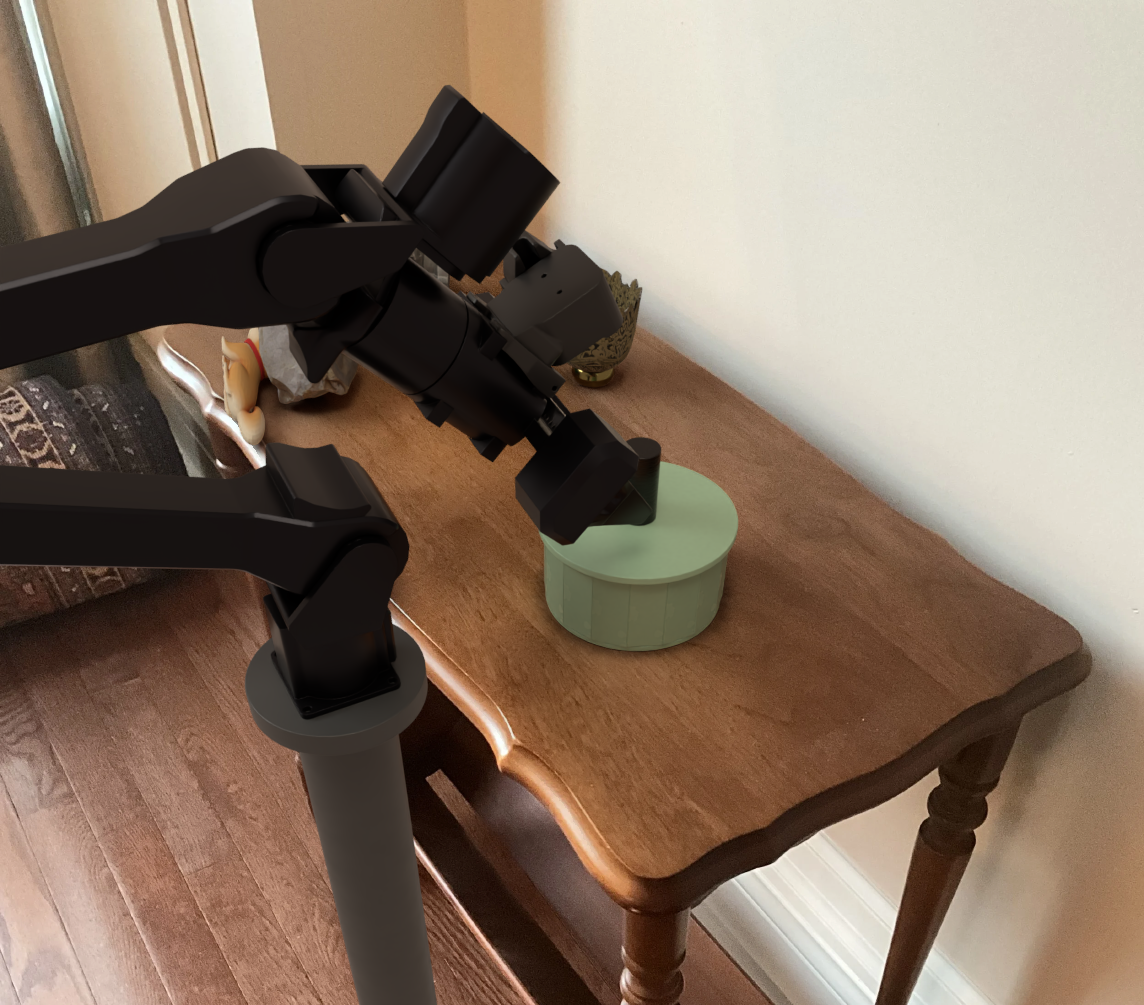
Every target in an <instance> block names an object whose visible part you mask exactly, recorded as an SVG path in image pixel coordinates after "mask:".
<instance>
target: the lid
mask: <svg viewBox="0 0 1144 1005" xmlns="http://www.w3.org/2000/svg"><path fill="white" fill-rule="evenodd" d="M625 441H626V442H627V443H628V444H629V445H630V447H631V448H632V449H633V450H634V451H635V452H636V453H637V455H638V456H639V461H638V467H637V471H636V472H635V473H634V475H633V476H632V477H631V478H630V479H629V482H630V483H631V484H632V485H633V486H634V488H635V489H636V490H637V491H638V493H639V494H640V495H641V496H642V497H643V499H644V500H645V501H646V502H647V504H648V505H649V506H650V507H651V508H652V513H651V514H650V515H649V517H648V518H647V519H646V520H645V521H644V522H643V523H642V524H633V525H608V526H593V527H588V528H587V529H586V530H585V531H584V532H583V534H582V535H581V536H580V537H579V538H578V539H577V540H576V542H575V543H574V544H570V545H564V546H562V545H561V544H559V543H557V542H556V541H554V540H552V539H551V538H549V537H548V536H546V535H544V534H543V533H541V532H540V531H539V530H538V529H537V530H538V534H539V536H540V539H541V541H542V542H543V545H544V544H545V545H546V547H547V548H548V549H549V550H550V552H551V553H552V554H553V555H554V556H555V557H557V558H558V559H559V560H560V561H562V562H563V563H564V564H566V565H568V566H569V567H571V568H573V569H575V570H577V571H579V572H581V573H583V574H586V575H589V576H591V577H594V578H597V579H601V580H605V581H609V582H615V583H622V584H633V585H653V584H664V583H670V582H675V581H680V580H683V579H687V578H690V577H693V576H695V575H698V574H700V573H702V572H704V571H706V570H708V569H710V568H711V567H713V566H714V565H716V564H717V563H718V562H720V561H721V560H722V559H723V558H724V557H725V556H726V555H727V553H728V554H729V552H730V551H731V549H732V548H733V546H734V544H735V542H736V540H737V536H738V531H739V516H738V511H737V509H736V507H735V504H734V502H733V501H732V499H731V497H730V496H729V494H728V493H726V491H725V490H724V489H723V488H722V487H721V486H720V485H718V484H717V483H716V482H715V481H713V480H711V479H710V478H708V477H707V476H705V475H703V474H701V473H699V472H697V471H695V470H692V469H691V468H688V467H685V466H682V465H678V464H676V463H671V462H667V461H661V459H662V446H661V444H660V443H659V442H658V441H656V440H655V439H652V438H650V437H645V436H638V437H637V436H636V437H631V438H629V439H628V440H625Z"/></svg>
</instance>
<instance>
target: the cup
mask: <svg viewBox="0 0 1144 1005" xmlns="http://www.w3.org/2000/svg"><path fill="white" fill-rule="evenodd" d="M600 268H601V269H602V271H603V273H604V275H605V278H606V280H607V282H608V285H609V287H610V289H611V291H612V294H613V296H614V298H615V301H616V303H617V305H618V307H619V310H620V312H621V314H622V317H623V324H622V326H621V327H620V329H619V330H618V331H617V332H616V333H615V334H613V335H612V336H610V337H609V338H602V339H601V340H599V341H598V342H596V343H595V344H593V345H592V346H591V347H589V348H588V349H586V350H585V351H583V352H582V353H581V354H579V355H578V356H576V357H575V358H573V359H572V360H571V361H569V362H567V363H566V364H568V365H569V366H570V367H571V375H572V377H573V379H574V381H575V382H576V383H577V384H579V385H581V386H583V387H587V388H601V387H603V386H607V385H608V384H610V382H612V380H613V378H614V377H615V374H616V367H618V366H620V364H622V363H623V362H624V361H625V359H626V358H627V357H628V355H629V353H630V351H631V348H632V345H633V343H634V338H635V333H636V328H637V323H638V318H639V312H640V306H641V300H642V295H643V287H642V286H640V287H639V281H638V279H637V278H634V279H632V280H631V282H630V284H628V283H624V282H623V279H622V273H621V272H620V271H619V270H615V271H614V272H612V274H611V273H610V272H609V271H608V270H606V269H604V268H603V267H600Z"/></svg>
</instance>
